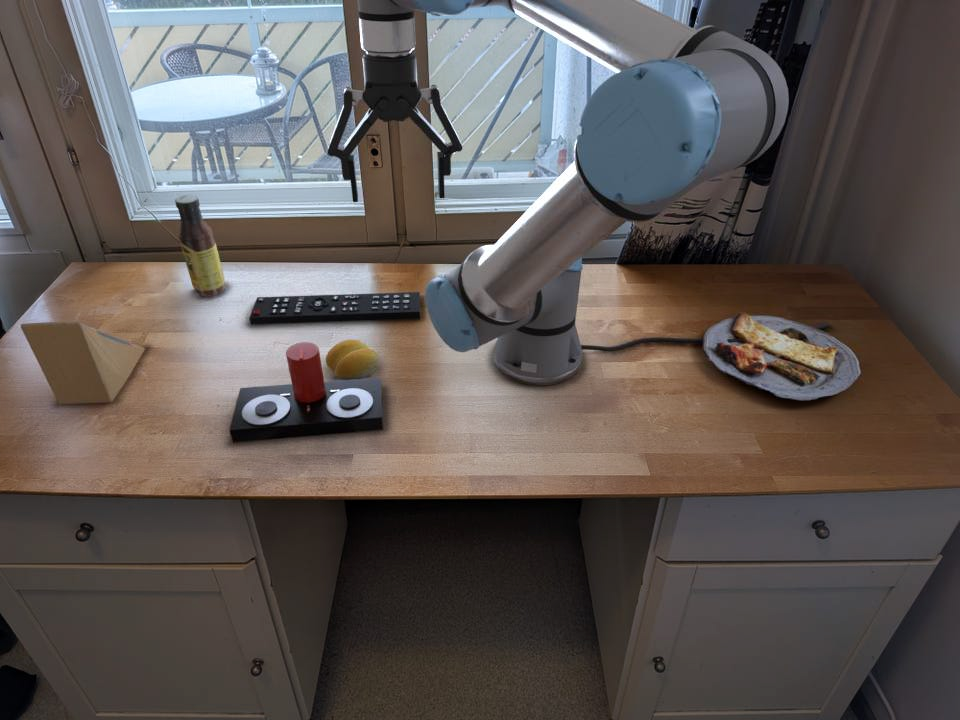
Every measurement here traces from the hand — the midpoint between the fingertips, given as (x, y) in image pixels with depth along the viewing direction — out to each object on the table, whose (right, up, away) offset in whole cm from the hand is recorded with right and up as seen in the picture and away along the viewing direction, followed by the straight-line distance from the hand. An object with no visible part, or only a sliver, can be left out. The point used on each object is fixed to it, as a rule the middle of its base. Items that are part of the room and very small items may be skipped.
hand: (398, 197), depth 103 cm
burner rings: (-13, -33, -5) cm, 36 cm away
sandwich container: (-50, -29, +6) cm, 58 cm away
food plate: (+64, -26, +10) cm, 70 cm away
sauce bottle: (-42, -12, +29) cm, 52 cm away
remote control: (-15, -17, +23) cm, 32 cm away
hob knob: (-14, -31, -2) cm, 34 cm away
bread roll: (-9, -27, +8) cm, 30 cm away
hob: (-13, -34, -2) cm, 37 cm away
